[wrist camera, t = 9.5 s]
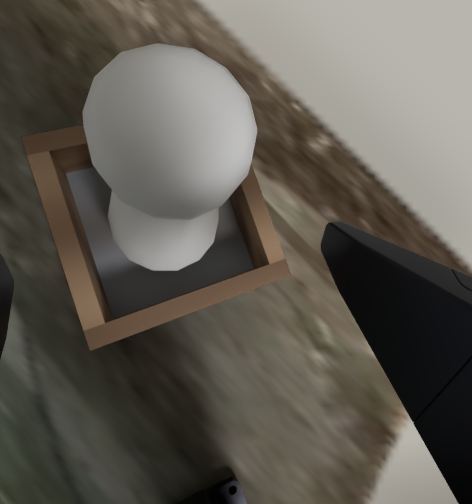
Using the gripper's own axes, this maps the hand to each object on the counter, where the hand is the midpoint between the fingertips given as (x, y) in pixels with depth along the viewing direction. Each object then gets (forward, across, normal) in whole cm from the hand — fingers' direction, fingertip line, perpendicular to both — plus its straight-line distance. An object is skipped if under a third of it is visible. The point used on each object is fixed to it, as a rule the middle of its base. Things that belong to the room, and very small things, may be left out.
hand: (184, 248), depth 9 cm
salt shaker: (+10, 0, +6) cm, 11 cm away
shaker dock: (+10, 0, +6) cm, 12 cm away
